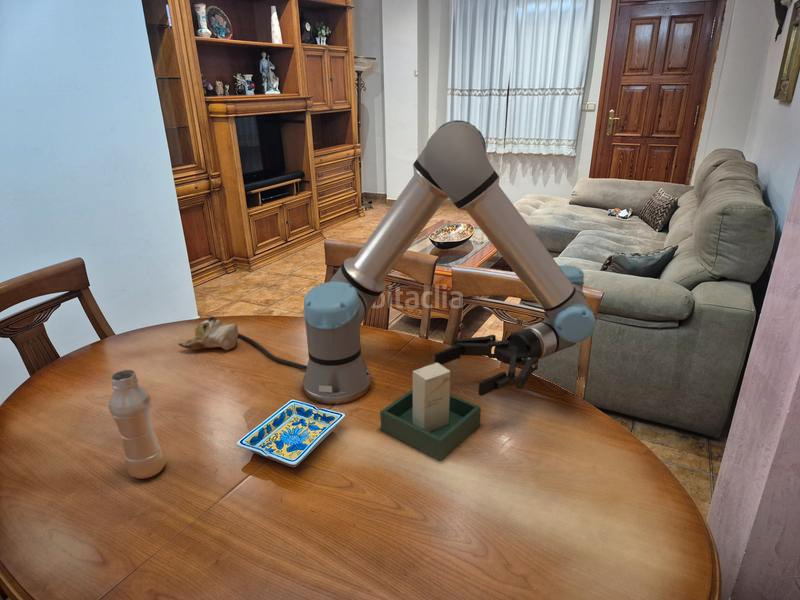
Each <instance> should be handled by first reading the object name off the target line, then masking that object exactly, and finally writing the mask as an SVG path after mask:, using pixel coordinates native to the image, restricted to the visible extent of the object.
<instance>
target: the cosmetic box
mask: <svg viewBox="0 0 800 600" xmlns="http://www.w3.org/2000/svg"><path fill="white" fill-rule="evenodd" d="M412 389H413V424H414V425H415V426H417V427H419V428H421V429H423V430H425V431H427V432H431V431H433V430H436V429H438V428H440V427H443V426H445V425H447V424H449V401H450V394H451V370H450V369H449V368H447V367H445V366H444V365H441V364H439V363H435V362H434V363H431V364H428V365H425V366H423V367H420V368H417V369H414V370H412Z"/></svg>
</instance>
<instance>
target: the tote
mask: <svg viewBox="0 0 800 600" xmlns="http://www.w3.org/2000/svg"><path fill="white" fill-rule="evenodd" d="M481 411H482V406H480V405H477V404H475V403H473V402H470V401H467V400H466V399H463V398H460V397H458V396H456V395H454V394H451V393H450V401H449V424H447V425H445V426H443V427H440V428H438V429H436V430H433V431H431V432H427V431H425V430H423V429H421V428H419V427H417V426H415V425H414V424H413V388H411V390H409V391H408V392H406V393H405V394H403V395H402V396H400V397H399V398H397V399H396V400H394V401H393V402H392V403H390V404H389V405H387V406H385V407H384V408H382V410H380V411H379V412H380V413H379V414H380V430H381V432H383V433H386V434H388V435H390V436H392V437H394V438H396V439H397V440H399V441H401V442H403V443H405V444H407V445H409V446H411V447H413V448H414V449H416V450H418V451H420V452H422V453H424V454H426V455H428V456H429V457H431V458H433V459H435V460H437V461H440V462H441V461H442V460H443V459H445V458H446V457H447V456H448V455H449V454H450V453H451V452H452V451H453V450H454V449H455V448H456V447H457V446H459V445H460V444H461V443H462V442H463V441H465V440H466V438H468V437H469V436H470V435H472V434H473V432H474V431H476V430H477V429H479V427H480V426H481Z"/></svg>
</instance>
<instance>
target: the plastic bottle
mask: <svg viewBox="0 0 800 600" xmlns="http://www.w3.org/2000/svg"><path fill="white" fill-rule="evenodd" d="M110 380H111V387H112V389H113V392H112V393H111V395H110V398H109V400H108V410H109V413H110V415H111V417H112V419H113V421H114V422H115V425H116V427H117V429H118V433H119V435H120V438H121V441H122V448H123V453H124V455H123V459H124V467H125V469H126V471H127V472H128V475H130V476H131V477H133V478H135V479H138V480H139V479H141V480H142V479H143V480H145V479H148V478H152V477H154V476H156V475H159V473H160V472H162V470H163V469H164V467H165V465H166V463H167V455H166V450H165V448H164V447H163V445H162V443H161V441H160V438H159V436H158V434H157V431H156V427H155V421H154V416H153V415H154V414H153V403H152V397H151V394H150V393H149V392H148V390H147V389H146V388H144V387H143V386H142V385H139V379H138V378H137V374H136V371H135V370H133V369H123V370H119V371H116V372H115V373H113V374H112V375H111V376H110Z"/></svg>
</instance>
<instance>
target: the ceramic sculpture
mask: <svg viewBox="0 0 800 600" xmlns="http://www.w3.org/2000/svg"><path fill="white" fill-rule="evenodd" d="M238 333H239V329H238V324H237V323H230V324H224V323H223V322H222V321H221V320H220V319H219V318H216V317H208V319H206V320H204V321H202V322H200V323H199V324H198V325H197V326H196V327H195V330H194V337H193V338H190V339H188V340H186V341H185V342H180V343H178V346H180V347H182V348H185V349H188V350H199V349H203V348H207V349H212V348H213V349H214V348H222V349H223V350H224V351H229V350H231V349H232V350H233V349H234V348H235V347H236V344H237V342H238V338H239V337H238Z"/></svg>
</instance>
